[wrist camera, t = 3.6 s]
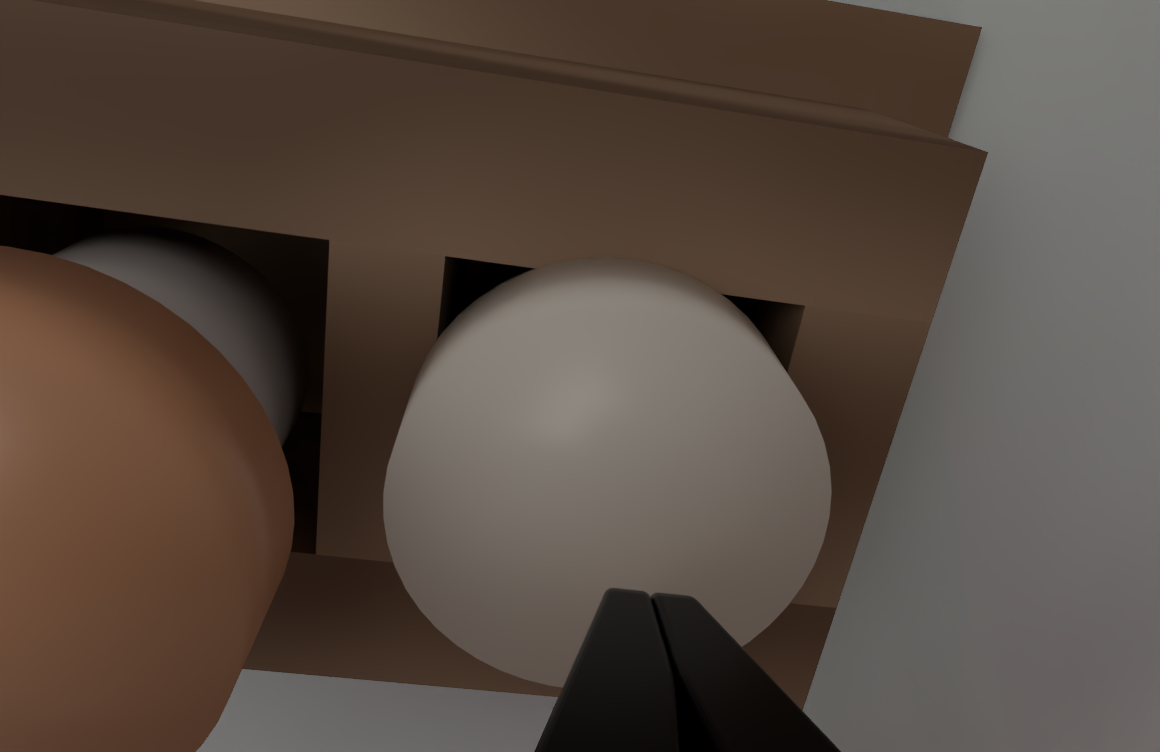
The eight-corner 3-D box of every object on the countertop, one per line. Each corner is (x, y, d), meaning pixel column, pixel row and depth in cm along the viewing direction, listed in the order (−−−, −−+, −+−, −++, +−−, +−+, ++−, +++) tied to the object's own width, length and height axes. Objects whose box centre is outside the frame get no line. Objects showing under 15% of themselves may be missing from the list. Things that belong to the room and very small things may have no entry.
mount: (788, 606, 19) (863, 793, 15) (-356, 489, 17) (-678, 668, 12) (965, 26, 15) (1153, 41, 10) (-580, -243, 12) (-1224, -378, 8)
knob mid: (348, 537, 13) (239, 848, 9) (-10, 500, 13) (-344, 807, 8) (369, 203, 11) (242, 358, 7) (-56, 142, 11) (-538, 262, 6)
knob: (702, 494, 16) (771, 707, 11) (421, 463, 16) (370, 670, 11) (769, 221, 14) (886, 339, 9) (450, 174, 14) (400, 273, 9)
